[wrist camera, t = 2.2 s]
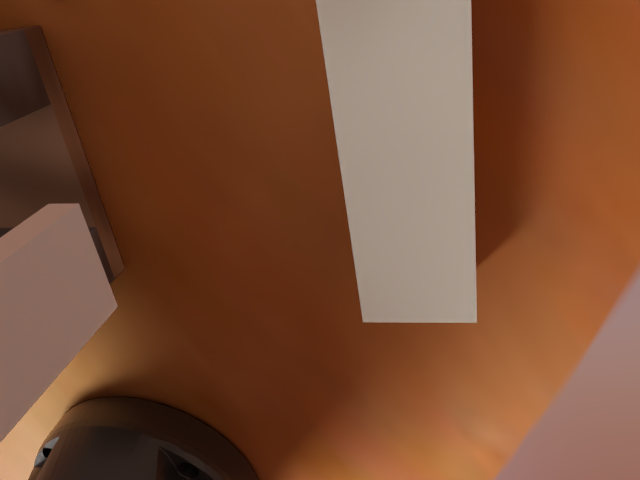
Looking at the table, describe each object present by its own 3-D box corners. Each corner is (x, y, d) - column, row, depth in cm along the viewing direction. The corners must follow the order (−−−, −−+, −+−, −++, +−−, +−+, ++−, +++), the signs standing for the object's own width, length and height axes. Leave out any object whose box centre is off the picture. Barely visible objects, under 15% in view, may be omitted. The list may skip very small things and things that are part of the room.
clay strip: (472, 267, 24) (477, 322, 21) (374, 269, 25) (363, 322, 22) (463, -167, 17) (467, -191, 13) (323, -136, 18) (293, -151, 14)
